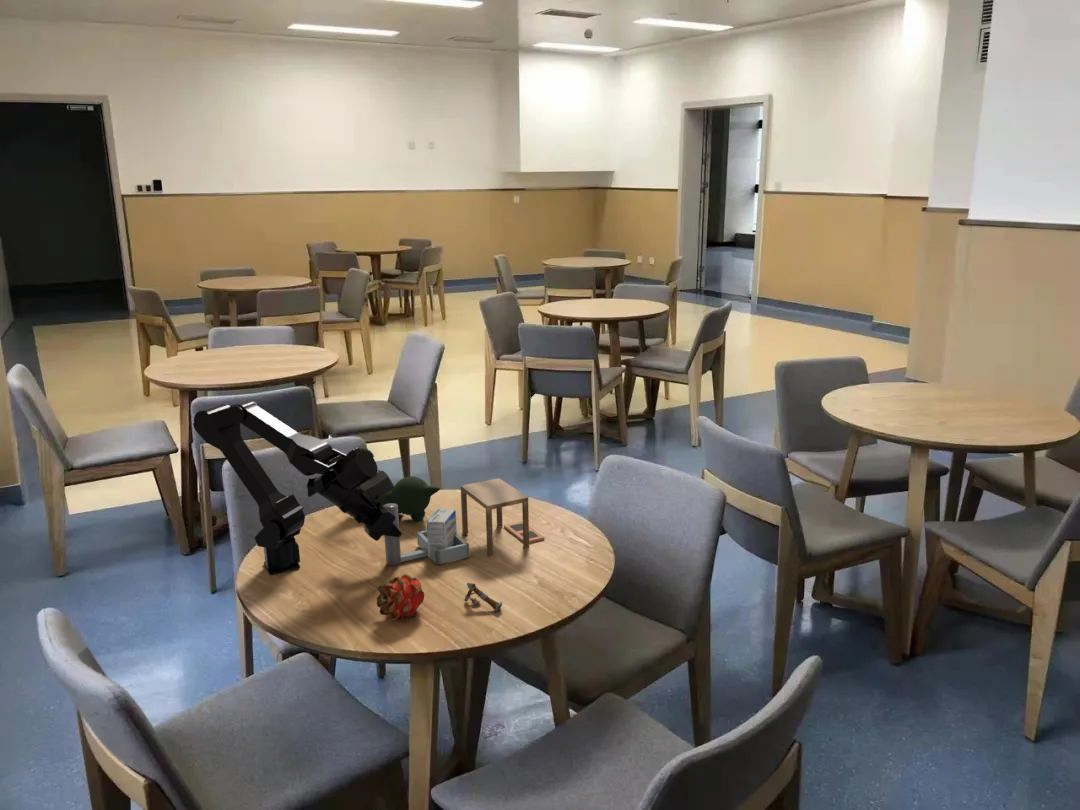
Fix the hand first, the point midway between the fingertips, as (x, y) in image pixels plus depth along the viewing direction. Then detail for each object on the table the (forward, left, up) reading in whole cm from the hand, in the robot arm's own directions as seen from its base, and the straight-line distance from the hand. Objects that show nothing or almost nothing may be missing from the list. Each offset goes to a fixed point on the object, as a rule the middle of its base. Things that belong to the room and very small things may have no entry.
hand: (397, 532), depth 176 cm
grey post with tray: (+6, 0, -7) cm, 9 cm away
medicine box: (+10, 0, -7) cm, 12 cm away
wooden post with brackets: (+7, -27, -7) cm, 29 cm away
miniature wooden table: (+23, 0, -7) cm, 24 cm away
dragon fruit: (-7, -22, -7) cm, 24 cm away
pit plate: (+31, 0, -7) cm, 31 cm away
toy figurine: (+7, +25, -7) cm, 27 cm away
